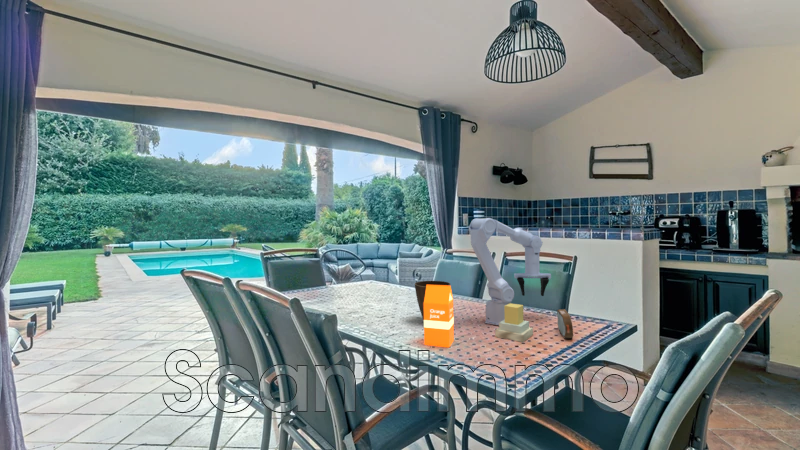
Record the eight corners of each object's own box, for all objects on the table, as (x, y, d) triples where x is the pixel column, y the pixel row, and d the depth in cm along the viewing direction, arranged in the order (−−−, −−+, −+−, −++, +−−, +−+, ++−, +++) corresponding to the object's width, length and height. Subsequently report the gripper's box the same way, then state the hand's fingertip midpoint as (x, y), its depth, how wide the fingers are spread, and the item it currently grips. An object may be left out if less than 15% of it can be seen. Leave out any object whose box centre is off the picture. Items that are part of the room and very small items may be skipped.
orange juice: (449, 347, 117) (448, 287, 117) (423, 345, 120) (422, 286, 120) (454, 340, 125) (453, 283, 125) (430, 337, 128) (429, 282, 128)
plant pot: (432, 314, 159) (431, 279, 159) (458, 321, 148) (457, 283, 147) (407, 321, 149) (407, 283, 149) (433, 329, 138) (433, 288, 138)
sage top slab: (499, 329, 128) (499, 322, 128) (507, 324, 134) (507, 317, 134) (521, 333, 123) (521, 326, 123) (529, 328, 129) (529, 321, 129)
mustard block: (504, 322, 128) (504, 305, 128) (510, 319, 132) (509, 303, 132) (518, 324, 125) (518, 307, 125) (523, 321, 129) (523, 305, 128)
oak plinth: (495, 336, 128) (495, 329, 128) (506, 329, 135) (506, 323, 135) (523, 342, 121) (522, 335, 121) (532, 334, 129) (532, 327, 129)
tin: (574, 341, 121) (573, 317, 121) (564, 341, 122) (563, 316, 122) (564, 328, 136) (564, 306, 136) (556, 328, 136) (555, 306, 136)
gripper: (515, 264, 146) (516, 297, 147) (552, 264, 144) (553, 297, 144) (513, 262, 153) (513, 293, 154) (548, 262, 151) (549, 294, 151)
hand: (532, 295), depth 149 cm, fingers open, 7 cm apart
